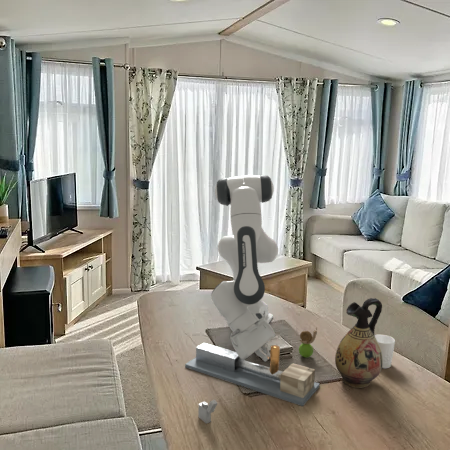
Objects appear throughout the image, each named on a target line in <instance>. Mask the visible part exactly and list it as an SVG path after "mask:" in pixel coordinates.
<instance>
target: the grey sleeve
mask: <svg viewBox="0 0 450 450" xmlns="http://www.w3.org/2000/svg"><path fill="white" fill-rule="evenodd" d="M195 350H196V351H195V357H196V361H200V362H203V363H206V364H209V365H212V366H215V367H218V368H222V369H225V370H228V371H231V372H235V371H236V370H238V369H239V368H237V367H235V359H237V358H240V357H239V356H238V354H237V352H236V351H233V350H230V349H227V348H224V347H221V346H217V345H214V344H210V343H206V342H203V343H201V344H199V345H197V346H196V348H195ZM240 359H241V358H240Z"/></svg>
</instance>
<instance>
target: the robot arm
mask: <svg viewBox="0 0 450 450" xmlns="http://www.w3.org/2000/svg"><path fill="white" fill-rule="evenodd" d="M274 189H275V188H274V184H273V181H272V178H271V177H270V176H269V175H265V174H260V175H259V174H258V175H256V174H244V175H237V176H232V177H223V178H219V179H218V180H217V181H216V185H215V187H214V194H215V197H216V200H217V202H218V203H219V204H220V205H223V206H227V207H228V206H230V224H231V225H230V226H231V231H232V234H230V235H223V236H222V237H221V238H220V239H219V241H218V245H217V251H218V254H219V256H220V257H221V258H222V259H223V260H224V261H226V263H227V265H228V266H229V268H230V270H231V272H232V278H233V280H223V281H221V282H220V283H219V284H217V285H216V286H215V287H214V289H213V290H212V291H211V293H210V300H211V301H212V304H213V305H214V307H215V309H216V310H217V311H218V313H219V315H220V316H221V317H223V318H224V319H225V321H226V323H227V326H228V328H230V330H231V331H232V332H231V333H230V336H229V337H230V338H229V339H230V342H231V345H232V347H233V349H234V350H235V352H237V354H238V356H239V357H240V358H241V359H242V360H247V358H249V357H250V356H252V355H253V354H254V353H255V354H256V356H258V357H259V358H261V359H262V360H263V362H267V361H269V360H270V348H269V346H268V344H267V343H269V342H270V341H271V340H272V339H274V338H275V337H276V333H275V331H274V328H273V327H272V326H271V324H270V322H271V321H272V319H273V318H274V315H273V314H272V313H270V312H269V306H268V304H267V303H266V302H265V301H263V298H264V296H265V290H266V286H265V283H264V281H263V278H262V277H261V275H260V272H259V268H258V264H267V263H273V262H274V261H275V260H276V259H277V257H278V254H279V246H278V244H277V242H276V241H275V240H274V239H272V238H271V237H270V236H269V235H268V234H267V233H266V232H265V231H264V228H263V226H262V224H263V221H262V219H263V218H262V207H261V203H266V202H270V201H271V199H272V198H273V195H274V191H275V190H274Z"/></svg>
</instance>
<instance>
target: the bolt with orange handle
mask: <svg viewBox="0 0 450 450" xmlns="http://www.w3.org/2000/svg"><path fill="white" fill-rule="evenodd" d="M280 348H281V346H280V345H278V344H277V345H275V344H273V345H271V346H270V349H269V352H270V359H269V366H266V365H263V364H259V363H256V362H252V361H250V360H249V361H248V360H247V359H245V360H242V359H240V358H237V359H235V367H237V368H240V369H243V370H246V371H249V372H253V373H256V374H259V375H262V376H265V377H269V378H272V379H275V380H278V381H281V373H282V372H284V371H282V370H279V369H280V350H281V349H280Z"/></svg>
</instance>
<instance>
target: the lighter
mask: <svg viewBox="0 0 450 450" xmlns="http://www.w3.org/2000/svg"><path fill="white" fill-rule="evenodd" d="M217 405H218V402H217V400H216V399H212V400H211V401H209V403H208V402H206V401H205V400H204V401H201V402H199V403H198V407H197V408H198V411H197V412H198V418H199V419H200V420H201V421H202V422H204V424H209V423H212V421H211V420H212V418H211V417H212V413H214V412H215V410H216V408H217Z"/></svg>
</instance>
